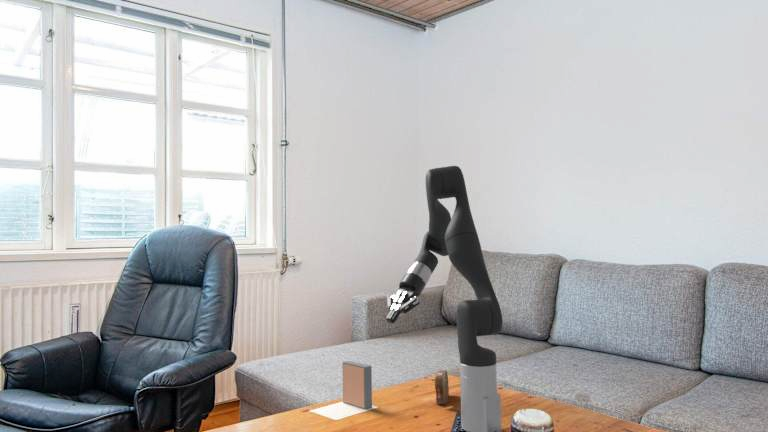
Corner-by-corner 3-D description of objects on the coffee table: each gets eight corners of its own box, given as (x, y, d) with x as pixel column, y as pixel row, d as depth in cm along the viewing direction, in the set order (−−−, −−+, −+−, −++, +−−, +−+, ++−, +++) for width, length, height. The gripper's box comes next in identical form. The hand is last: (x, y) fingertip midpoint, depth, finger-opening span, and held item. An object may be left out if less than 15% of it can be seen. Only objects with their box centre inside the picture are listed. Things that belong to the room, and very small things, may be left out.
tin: (445, 408, 161) (444, 379, 161) (434, 408, 162) (433, 379, 162) (449, 394, 176) (448, 367, 176) (439, 394, 176) (439, 367, 177)
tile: (371, 407, 161) (371, 365, 161) (365, 409, 159) (364, 367, 159) (349, 400, 168) (348, 360, 168) (342, 402, 166) (342, 362, 167)
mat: (378, 409, 161) (378, 407, 161) (335, 422, 150) (335, 420, 150) (351, 401, 170) (351, 399, 170) (309, 412, 159) (309, 410, 159)
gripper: (395, 270, 183) (368, 312, 174) (425, 272, 174) (398, 315, 165) (406, 285, 187) (380, 327, 178) (436, 288, 177) (411, 331, 168)
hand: (389, 321), depth 171 cm, fingers closed
